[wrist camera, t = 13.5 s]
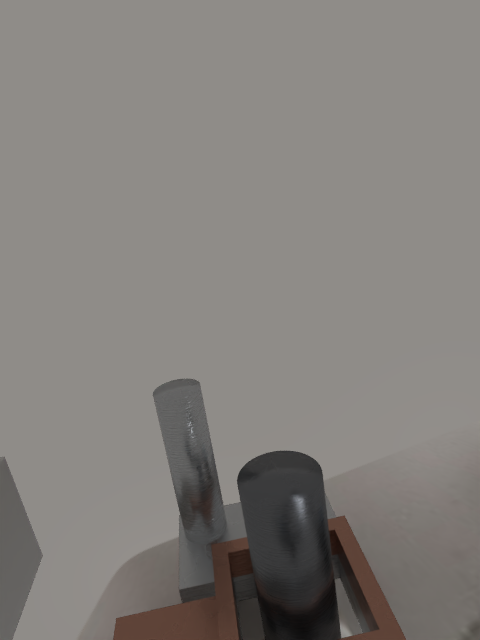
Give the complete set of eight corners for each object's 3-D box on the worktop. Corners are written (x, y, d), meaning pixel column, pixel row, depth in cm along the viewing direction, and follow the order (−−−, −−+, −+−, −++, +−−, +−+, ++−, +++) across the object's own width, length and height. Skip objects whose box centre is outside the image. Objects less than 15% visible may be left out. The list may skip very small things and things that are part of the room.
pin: (334, 651, 31) (309, 444, 26) (358, 725, 26) (334, 493, 22) (269, 667, 30) (232, 460, 26) (284, 744, 26) (243, 513, 21)
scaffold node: (328, 549, 39) (305, 353, 34) (414, 761, 24) (398, 476, 19) (145, 590, 38) (92, 393, 32) (124, 837, 23) (22, 556, 18)
